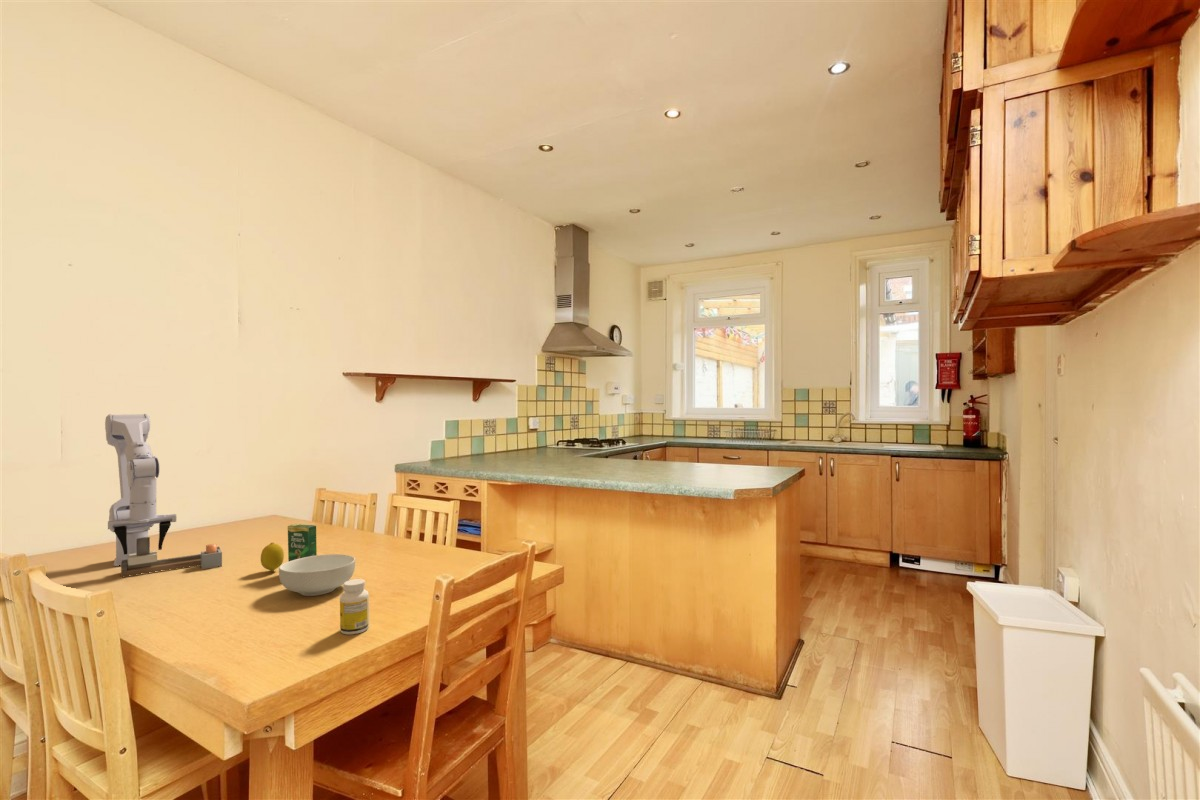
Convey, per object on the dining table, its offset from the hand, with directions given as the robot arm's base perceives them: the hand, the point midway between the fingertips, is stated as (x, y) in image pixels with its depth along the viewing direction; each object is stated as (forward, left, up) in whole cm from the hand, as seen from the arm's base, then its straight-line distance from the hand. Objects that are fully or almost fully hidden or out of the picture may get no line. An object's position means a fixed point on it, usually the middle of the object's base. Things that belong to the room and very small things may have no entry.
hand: (143, 551), depth 152 cm
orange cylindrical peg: (+6, +15, -3) cm, 16 cm away
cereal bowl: (+48, +33, -6) cm, 59 cm away
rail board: (0, +6, -6) cm, 9 cm away
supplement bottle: (+79, +33, -6) cm, 86 cm away
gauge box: (+6, +15, -6) cm, 17 cm away
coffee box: (+30, +33, -6) cm, 45 cm away
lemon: (+23, +27, -6) cm, 36 cm away
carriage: (0, 0, -3) cm, 3 cm away
